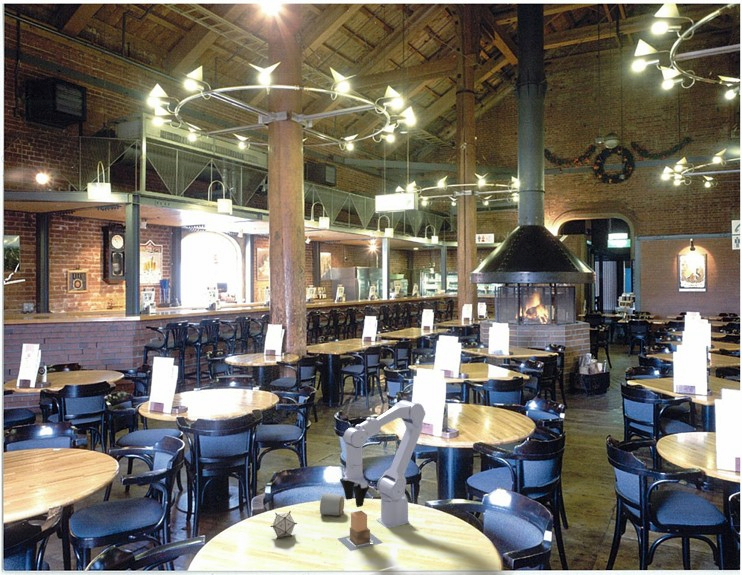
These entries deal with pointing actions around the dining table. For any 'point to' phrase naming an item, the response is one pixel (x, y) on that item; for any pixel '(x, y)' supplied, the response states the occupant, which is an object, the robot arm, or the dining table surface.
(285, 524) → the game die
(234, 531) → the dining table surface
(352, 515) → the terracotta block
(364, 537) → the walnut block
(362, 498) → the robot arm
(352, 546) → the mat
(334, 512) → the grey cylinder
